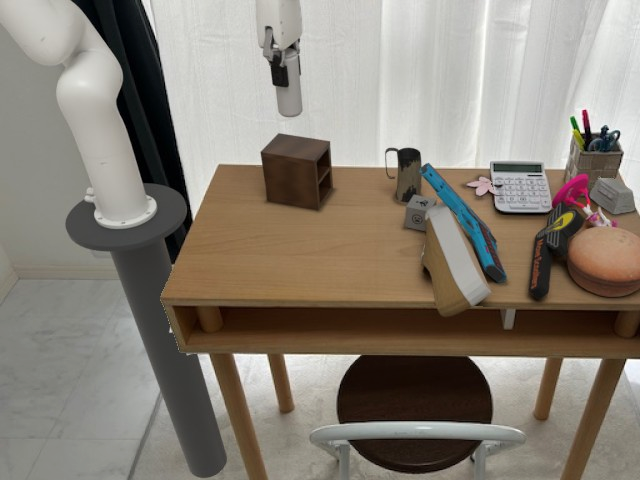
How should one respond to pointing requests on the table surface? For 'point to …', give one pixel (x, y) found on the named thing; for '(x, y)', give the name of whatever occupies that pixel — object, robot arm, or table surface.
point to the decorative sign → (552, 245)
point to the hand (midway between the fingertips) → (287, 79)
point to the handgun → (468, 223)
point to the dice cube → (418, 211)
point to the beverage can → (290, 87)
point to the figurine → (571, 194)
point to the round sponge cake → (605, 261)
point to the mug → (407, 174)
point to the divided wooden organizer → (297, 171)
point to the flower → (482, 186)
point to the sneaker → (451, 263)
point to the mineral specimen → (613, 195)
